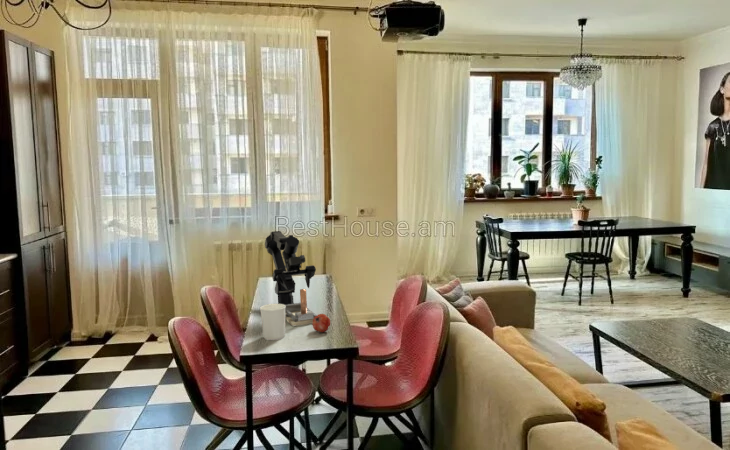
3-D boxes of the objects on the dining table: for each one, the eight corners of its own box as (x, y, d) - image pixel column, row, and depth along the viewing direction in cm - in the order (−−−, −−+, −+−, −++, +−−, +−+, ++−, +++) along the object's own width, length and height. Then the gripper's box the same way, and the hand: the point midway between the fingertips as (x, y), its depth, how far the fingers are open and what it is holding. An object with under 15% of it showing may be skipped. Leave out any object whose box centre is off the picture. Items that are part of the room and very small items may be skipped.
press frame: (281, 315, 229) (280, 305, 228) (307, 311, 233) (306, 301, 233) (292, 326, 212) (291, 315, 211) (319, 321, 216) (319, 311, 216)
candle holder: (265, 342, 192) (264, 311, 191) (258, 335, 201) (256, 305, 199) (290, 338, 197) (289, 307, 195) (282, 331, 205) (281, 302, 204)
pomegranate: (318, 333, 208) (303, 323, 201) (327, 317, 210) (312, 307, 204) (330, 339, 203) (315, 329, 196) (339, 322, 205) (325, 312, 198)
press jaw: (295, 318, 217) (293, 289, 215) (310, 316, 219) (309, 287, 218) (298, 321, 213) (296, 291, 212) (313, 318, 216) (312, 289, 214)
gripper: (272, 251, 221) (280, 281, 212) (313, 247, 228) (322, 276, 219) (269, 266, 229) (276, 295, 220) (309, 262, 236) (317, 290, 227)
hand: (298, 289), depth 221 cm, fingers open, 9 cm apart
